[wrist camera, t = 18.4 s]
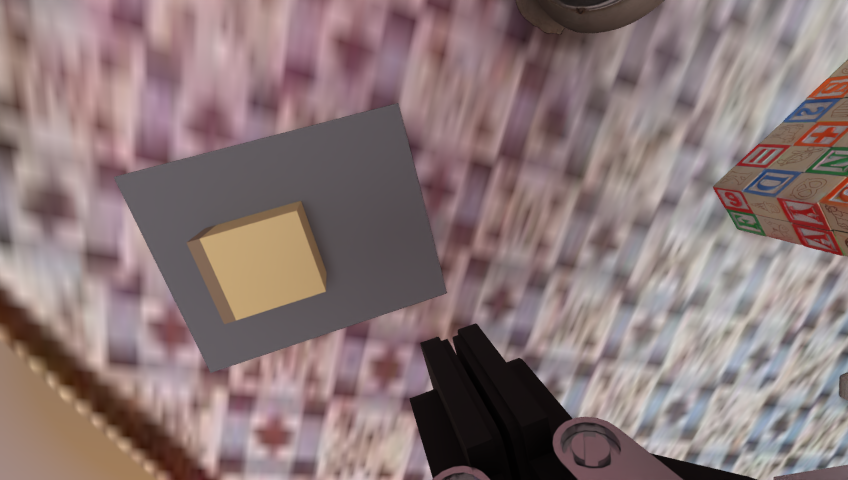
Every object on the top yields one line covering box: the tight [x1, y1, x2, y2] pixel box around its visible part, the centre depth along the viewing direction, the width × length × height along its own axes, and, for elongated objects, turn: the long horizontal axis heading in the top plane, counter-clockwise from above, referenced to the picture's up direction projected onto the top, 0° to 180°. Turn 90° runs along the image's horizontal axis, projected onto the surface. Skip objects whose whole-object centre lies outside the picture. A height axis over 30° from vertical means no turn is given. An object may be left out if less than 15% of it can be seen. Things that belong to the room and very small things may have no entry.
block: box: [186, 201, 327, 324], centre depth 28 cm, size 4×6×7 cm
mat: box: [114, 103, 447, 372], centre depth 31 cm, size 20×16×1 cm
